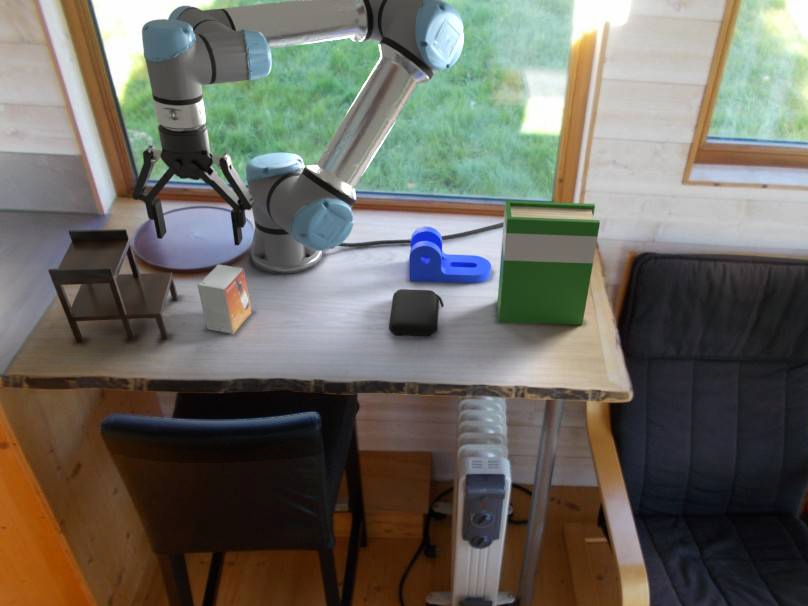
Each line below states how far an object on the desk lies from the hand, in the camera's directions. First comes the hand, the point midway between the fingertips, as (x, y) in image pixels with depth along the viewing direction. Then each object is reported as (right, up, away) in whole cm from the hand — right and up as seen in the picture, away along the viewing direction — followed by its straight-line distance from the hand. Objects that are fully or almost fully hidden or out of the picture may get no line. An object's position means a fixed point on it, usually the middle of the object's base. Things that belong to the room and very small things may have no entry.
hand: (200, 238), depth 136 cm
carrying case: (+38, -13, +17) cm, 43 cm away
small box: (+1, -14, +12) cm, 19 cm away
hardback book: (+63, -12, +22) cm, 68 cm away
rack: (-18, -14, +10) cm, 25 cm away
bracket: (+43, -2, +31) cm, 54 cm away
